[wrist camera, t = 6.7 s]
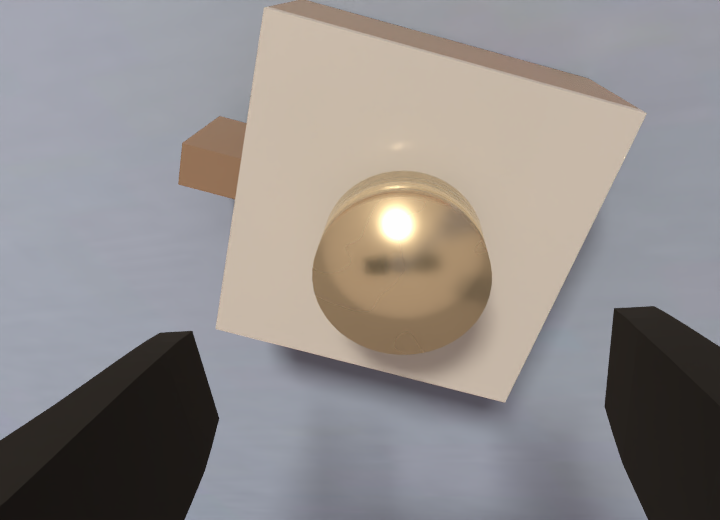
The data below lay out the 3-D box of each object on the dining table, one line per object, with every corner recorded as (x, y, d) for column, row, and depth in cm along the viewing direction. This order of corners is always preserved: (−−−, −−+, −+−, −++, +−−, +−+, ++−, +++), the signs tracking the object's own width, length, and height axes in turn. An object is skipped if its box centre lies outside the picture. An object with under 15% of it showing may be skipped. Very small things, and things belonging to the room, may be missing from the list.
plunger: (485, 143, 17) (519, 225, 12) (445, 254, 19) (457, 372, 13) (360, 109, 17) (333, 176, 11) (332, 224, 19) (297, 331, 13)
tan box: (588, 78, 17) (646, 113, 13) (486, 316, 21) (504, 402, 17) (244, -17, 17) (185, -15, 12) (209, 244, 21) (156, 313, 17)
